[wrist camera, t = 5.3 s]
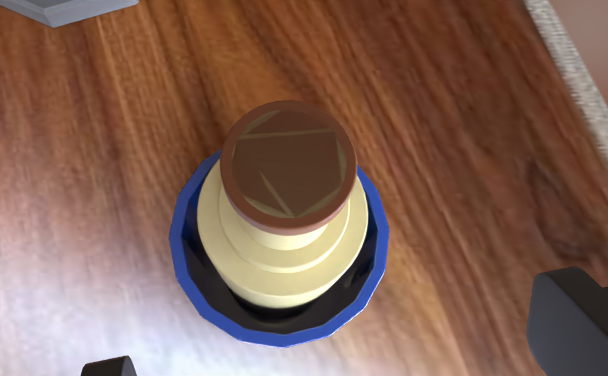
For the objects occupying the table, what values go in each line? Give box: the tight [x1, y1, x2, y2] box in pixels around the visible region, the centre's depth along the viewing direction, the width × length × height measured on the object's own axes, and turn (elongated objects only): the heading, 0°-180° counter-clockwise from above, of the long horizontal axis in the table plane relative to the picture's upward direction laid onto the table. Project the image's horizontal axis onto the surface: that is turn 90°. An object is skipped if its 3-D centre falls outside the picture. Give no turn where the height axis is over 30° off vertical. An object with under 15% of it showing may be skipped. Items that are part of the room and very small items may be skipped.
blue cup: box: [169, 149, 389, 349], centre depth 26 cm, size 9×9×8 cm
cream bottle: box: [197, 101, 368, 318], centre depth 21 cm, size 6×6×16 cm
